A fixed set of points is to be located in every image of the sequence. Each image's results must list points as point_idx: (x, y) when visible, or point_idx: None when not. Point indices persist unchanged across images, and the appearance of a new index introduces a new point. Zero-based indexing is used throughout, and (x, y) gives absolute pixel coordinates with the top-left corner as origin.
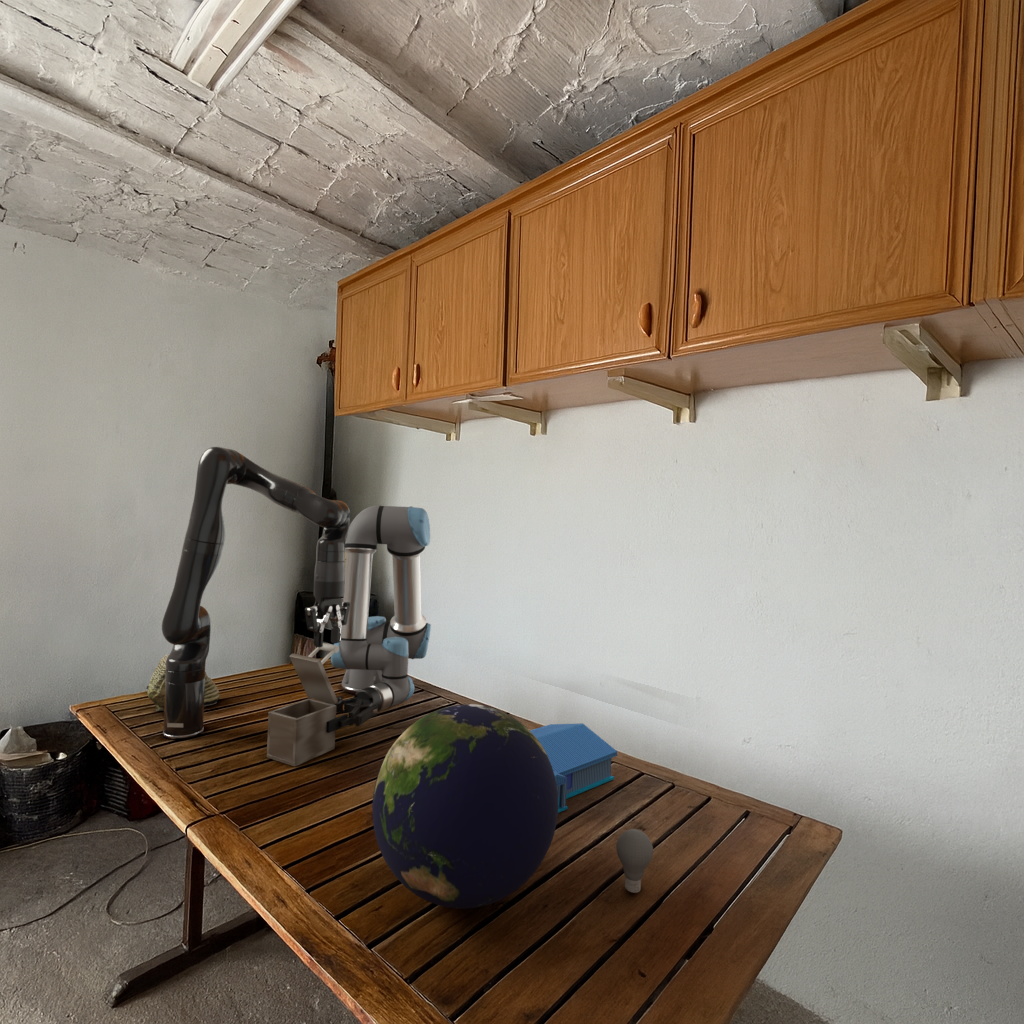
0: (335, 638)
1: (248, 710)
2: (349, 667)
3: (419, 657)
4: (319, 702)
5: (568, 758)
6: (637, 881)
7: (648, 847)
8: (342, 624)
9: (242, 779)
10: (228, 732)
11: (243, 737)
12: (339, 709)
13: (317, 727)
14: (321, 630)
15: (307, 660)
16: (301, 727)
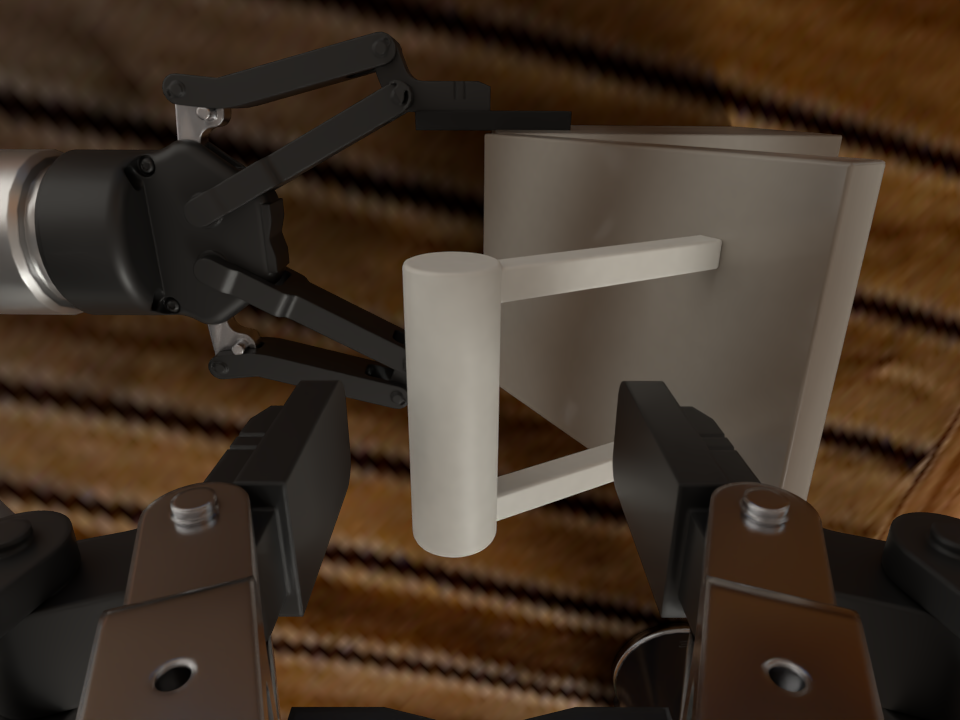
0: (330, 435)
1: (396, 678)
2: (4, 505)
3: None
4: None
5: None
6: None
7: None
8: (85, 554)
9: (912, 212)
10: (590, 577)
11: (598, 507)
12: (307, 286)
13: (640, 130)
14: (782, 498)
15: (846, 318)
16: (776, 132)
